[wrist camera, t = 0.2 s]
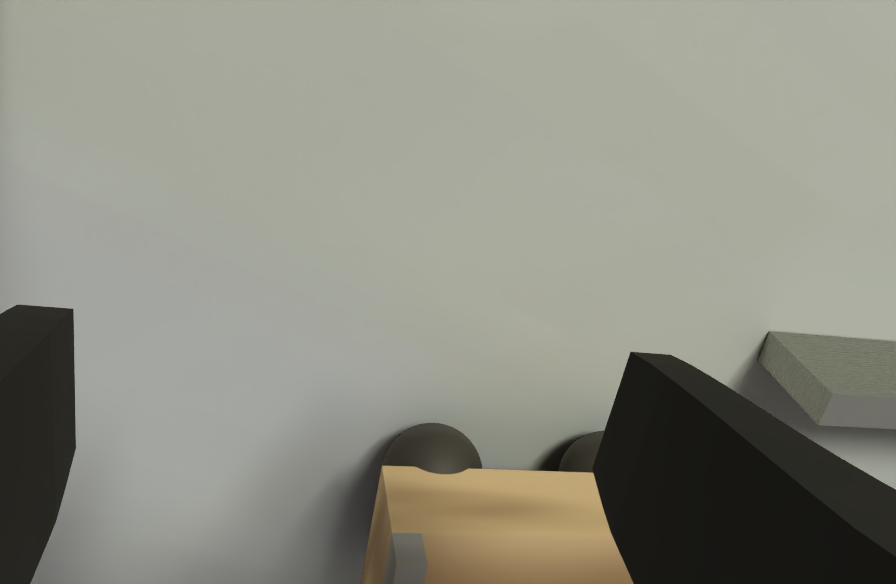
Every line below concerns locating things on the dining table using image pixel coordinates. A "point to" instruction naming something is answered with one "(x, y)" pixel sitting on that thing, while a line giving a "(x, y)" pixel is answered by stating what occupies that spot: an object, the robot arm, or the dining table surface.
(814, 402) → the dock
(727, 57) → the dining table surface
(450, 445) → the trolley
